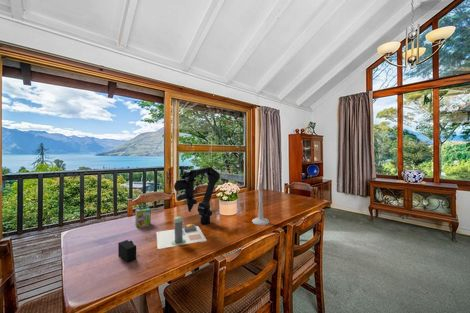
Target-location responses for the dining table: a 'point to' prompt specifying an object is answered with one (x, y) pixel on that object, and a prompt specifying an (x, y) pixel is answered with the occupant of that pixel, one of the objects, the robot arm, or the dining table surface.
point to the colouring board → (168, 238)
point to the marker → (178, 230)
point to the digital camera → (127, 251)
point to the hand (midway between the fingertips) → (189, 211)
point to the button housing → (189, 228)
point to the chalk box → (143, 216)
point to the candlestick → (260, 211)
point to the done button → (189, 226)
